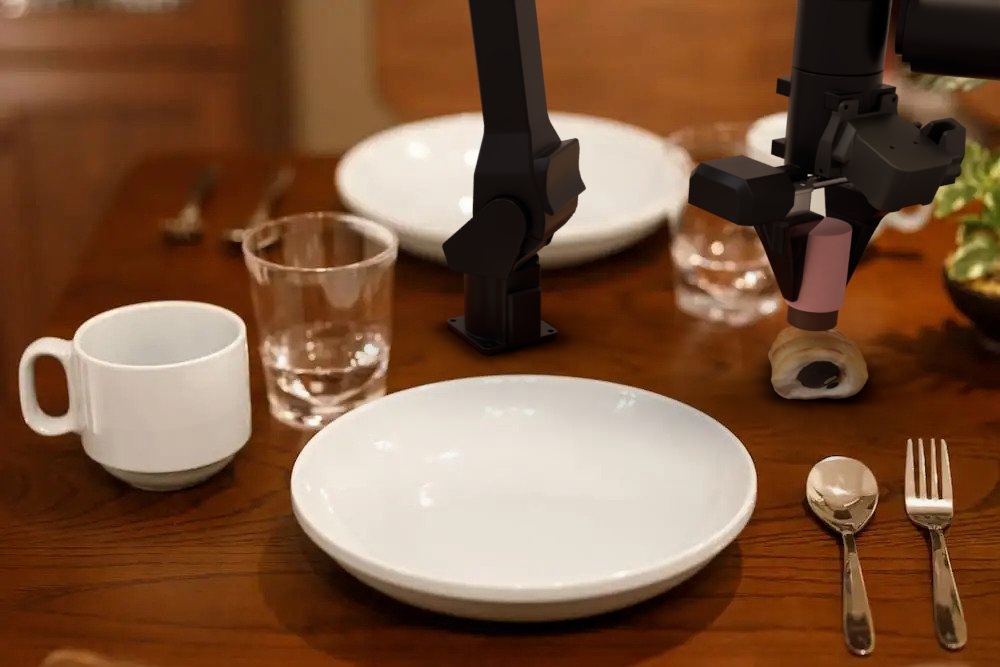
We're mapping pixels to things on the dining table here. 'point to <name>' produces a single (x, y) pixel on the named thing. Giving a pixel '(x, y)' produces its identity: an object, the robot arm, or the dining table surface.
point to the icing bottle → (822, 277)
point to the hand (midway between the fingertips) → (813, 294)
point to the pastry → (816, 364)
